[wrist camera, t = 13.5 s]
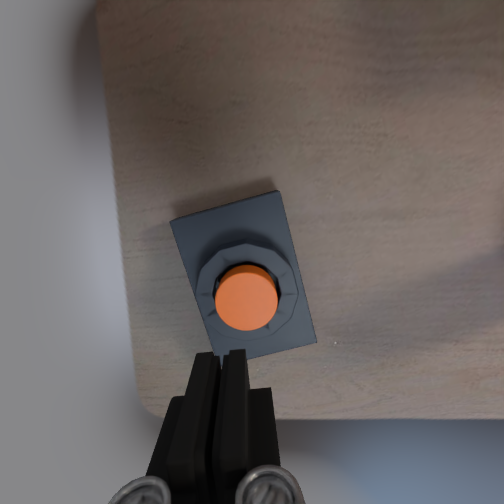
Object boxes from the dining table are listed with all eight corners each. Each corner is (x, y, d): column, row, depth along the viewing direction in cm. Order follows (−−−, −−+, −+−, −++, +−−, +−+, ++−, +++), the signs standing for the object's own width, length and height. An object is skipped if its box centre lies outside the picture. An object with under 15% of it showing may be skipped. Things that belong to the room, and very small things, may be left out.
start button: (210, 273, 20) (206, 281, 18) (267, 257, 20) (269, 265, 18) (227, 324, 21) (225, 337, 19) (281, 310, 20) (284, 322, 19)
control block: (176, 217, 22) (161, 225, 19) (276, 189, 22) (282, 191, 18) (221, 351, 25) (216, 382, 21) (311, 328, 25) (322, 356, 21)
